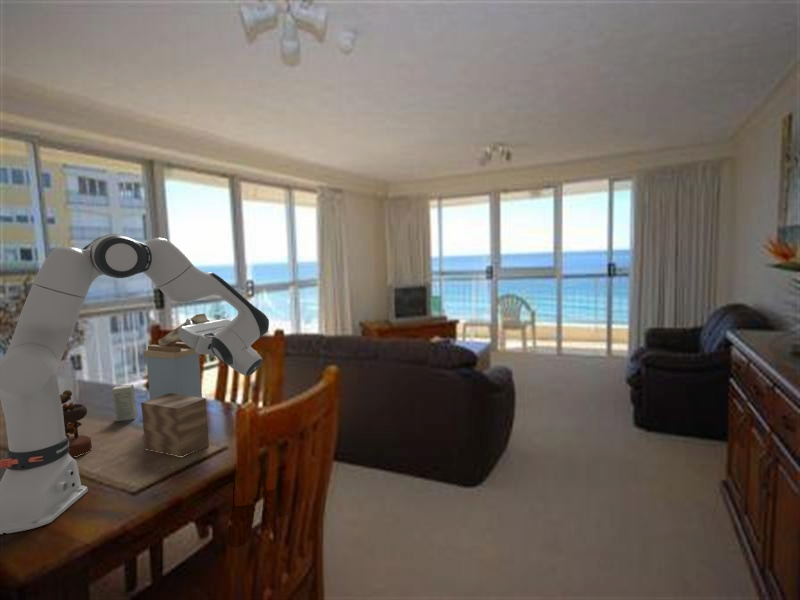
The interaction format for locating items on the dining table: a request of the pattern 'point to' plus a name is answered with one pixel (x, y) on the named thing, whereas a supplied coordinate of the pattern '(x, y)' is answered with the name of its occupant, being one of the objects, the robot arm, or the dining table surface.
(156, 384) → the chest
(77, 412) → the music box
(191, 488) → the dining table surface
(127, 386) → the skincare box
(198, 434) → the brown wood grain block
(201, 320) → the light wood bar
